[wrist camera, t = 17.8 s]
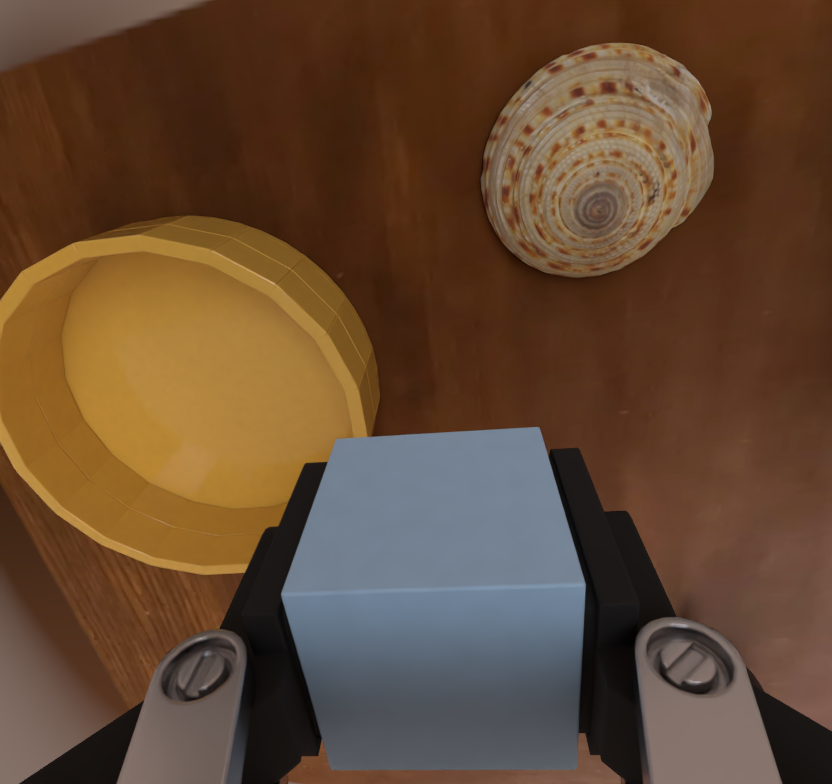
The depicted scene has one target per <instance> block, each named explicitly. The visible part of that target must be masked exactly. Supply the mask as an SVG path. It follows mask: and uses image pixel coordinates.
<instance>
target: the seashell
mask: <svg viewBox="0 0 832 784" xmlns="http://www.w3.org/2000/svg"><path fill="white" fill-rule="evenodd" d="M711 114H712V112H711V106H710V103H709V101H708V98H707V96H706V93H705V91H704V90H703V88H702V87H701V85H700V83H699V82H698V80H697V79H696V78H695V77H694V76H693V75H692V74H691V73H690V72H689V71H688V70H686V68H685V66H684V65H682V64H680V63H679V62H677V61H675V60H673V59H671V58H669V57H667V56H666V55H664V54H661V53H660V52H658V51H656V50H653V49H651V48H649V47H646V46H642V45H636V44H630V43H605V44H599V45H593V46H589V47H586V48H582V49H579V50H576V51H574V52H572V53H571V54H568V55H562V56H561V57H559V58H557V59H555V60H554V61H552V62H550V63H549V64H547V65H546V66H544V67H543V68H541V69H540V70H539V71H537V72H536V73H535V74H534V75H533V76H532V77H531V78H530V79H529V80H528V81H527V82H526V83H525V84H524V85H523V86H522V87H521V88H520V89H519V90H518V91H517V92H516V93H515V94H514V95H513V97H512V98H511V99H510V100H509V101H508V103H507V104H506V106H505V107H504V108H503V110H502V111H501V113H500V115H499V117H498V119H497V121H496V123H495V125H494V127H493V129H492V131H491V133H490V136H489V138H488V141H487V143H486V147H485V151H484V155H483V172H482V176H481V190H482V195H483V201H484V205H485V209H486V212H487V216H488V219H489V221H490V223H491V225H492V227H493V228H494V230H495V232H496V234H497V236H498V237H499V239H500V240H501V241H502V243H503V244H504V245H505V246H506V247H507V248H508V249H509V250H510V251H511V252H512V253H513V254H514V255H515V256H516V257H518V258H519V259H520V260H522V261H523V262H525V263H526V264H528V265H530V266H532V267H534V268H536V269H538V270H540V271H543V272H546V273H550V274H554V275H559V276H564V277H590V276H598V275H602V274H605V273H608V272H612V271H615V270H618V269H621V268H623V267H625V266H627V265H629V264H631V263H633V262H634V261H635V260H637V259H639V258H641V257H642V256H644V255H645V254H646V253H647V252H648V251H649V250H651V249H652V248H653V247H654V246H655V245H656V244H657V243H659V242H660V241H661V240H662V239H663V238H664V237H665V236H666V235H667V233H668V232H669V231H670V229H671V228H672V227H676V226H677V225H679V224H681V223H682V222H684V221H685V219H686V218H687V216H688V215H689V214H690V213H692V212H693V210H694V209H695V207H696V206H697V205H698V203H699V202H700V200H701V199H702V197H703V196H704V194H705V193H706V191H707V189H708V188H709V186H710V184H711V181H712V179H713V170H714V156H713V151H712V146H711V142H710V137H709V132H708V124H709V121H710V119H711Z"/></svg>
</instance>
